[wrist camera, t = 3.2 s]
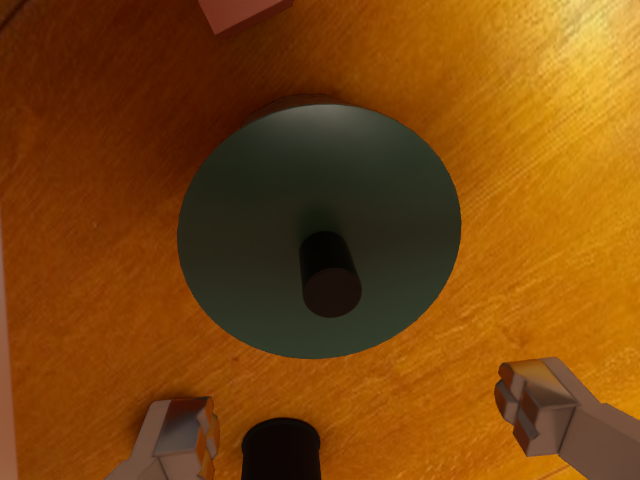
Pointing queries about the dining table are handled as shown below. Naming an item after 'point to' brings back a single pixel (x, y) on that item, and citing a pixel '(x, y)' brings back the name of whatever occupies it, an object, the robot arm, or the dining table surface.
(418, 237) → the lid
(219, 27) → the block
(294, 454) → the aerosol can
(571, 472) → the dining table surface
